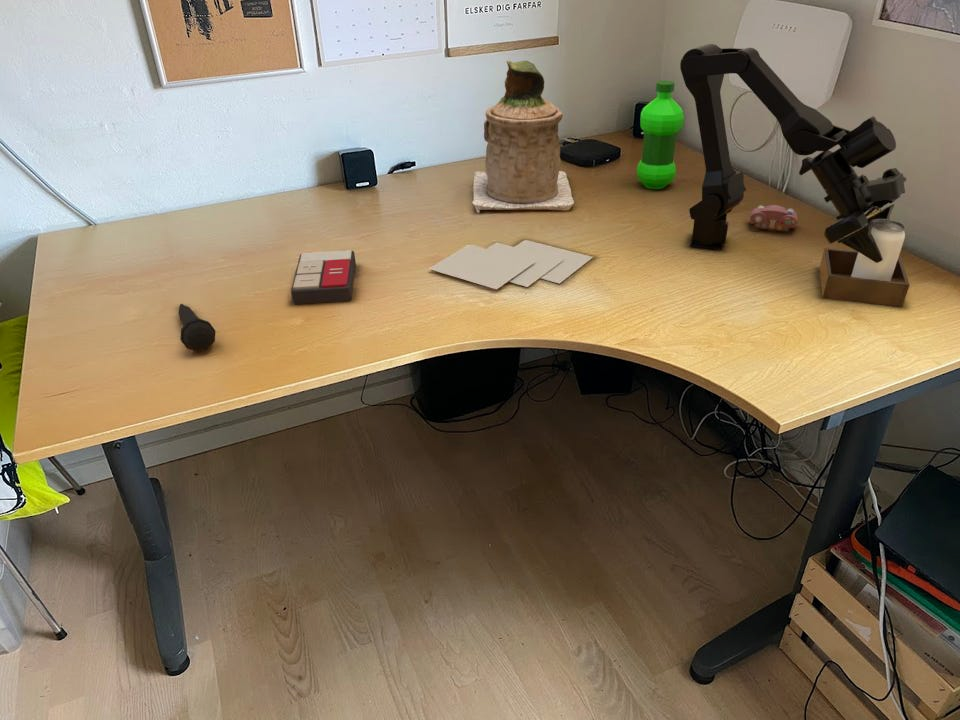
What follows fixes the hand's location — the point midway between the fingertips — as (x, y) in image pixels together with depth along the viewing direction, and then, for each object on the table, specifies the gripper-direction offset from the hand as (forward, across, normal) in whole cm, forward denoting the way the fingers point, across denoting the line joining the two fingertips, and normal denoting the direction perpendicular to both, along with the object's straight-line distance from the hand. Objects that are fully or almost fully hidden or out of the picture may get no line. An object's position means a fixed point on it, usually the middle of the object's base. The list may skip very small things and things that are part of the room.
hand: (886, 255), depth 129 cm
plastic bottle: (-37, +23, +50) cm, 66 cm away
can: (+4, 0, +6) cm, 7 cm away
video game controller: (-13, +16, +25) cm, 32 cm away
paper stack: (-36, -35, +48) cm, 69 cm away
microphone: (-53, -91, +66) cm, 124 cm away
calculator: (-51, -65, +64) cm, 104 cm away
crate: (+3, 0, +8) cm, 8 cm away
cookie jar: (-53, -3, +65) cm, 84 cm away
